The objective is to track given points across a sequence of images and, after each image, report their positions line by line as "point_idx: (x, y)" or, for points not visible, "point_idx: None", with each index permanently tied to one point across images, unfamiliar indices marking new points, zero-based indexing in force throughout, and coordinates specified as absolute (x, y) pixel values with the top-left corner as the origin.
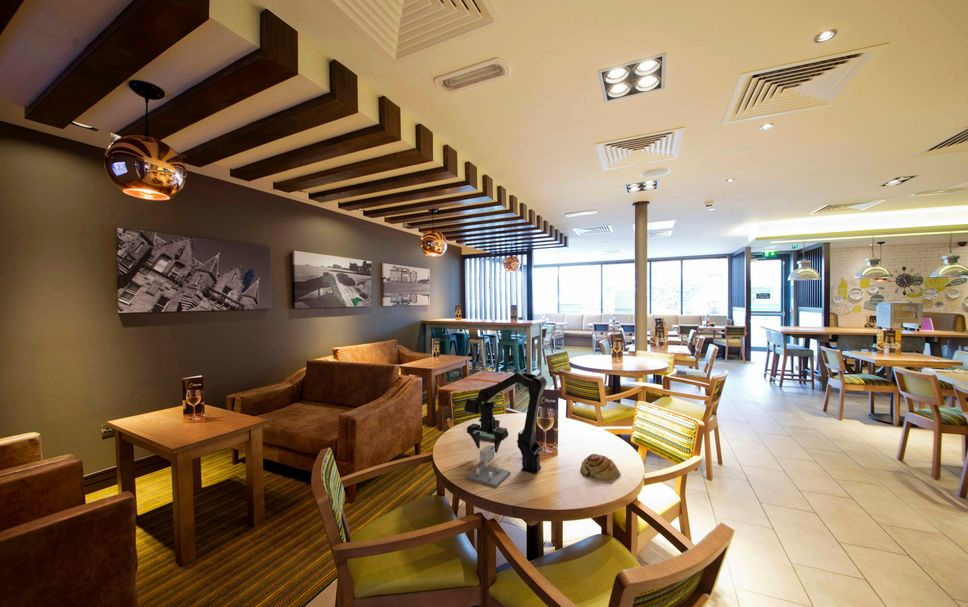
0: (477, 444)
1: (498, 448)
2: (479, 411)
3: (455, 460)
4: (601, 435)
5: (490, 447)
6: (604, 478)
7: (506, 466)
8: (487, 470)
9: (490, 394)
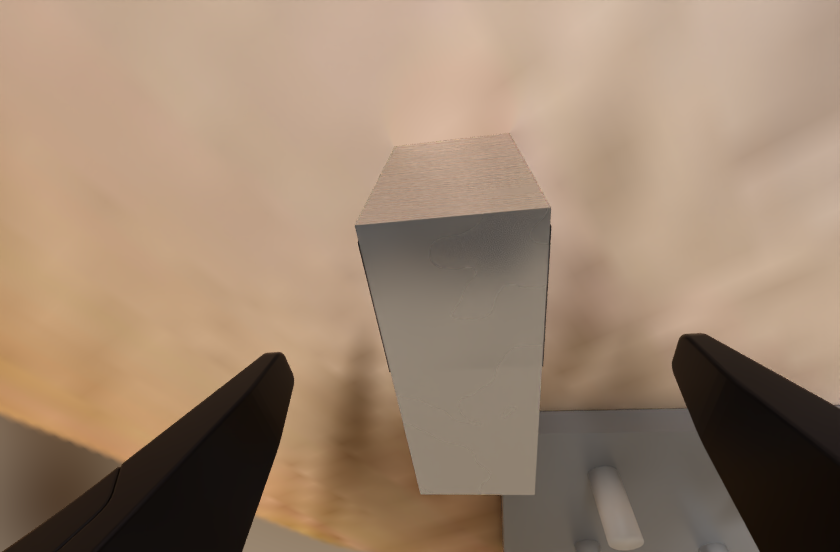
0: (263, 479)
1: (794, 386)
2: None
3: None
4: None
5: (511, 342)
6: None
7: (815, 300)
8: (632, 488)
9: None
